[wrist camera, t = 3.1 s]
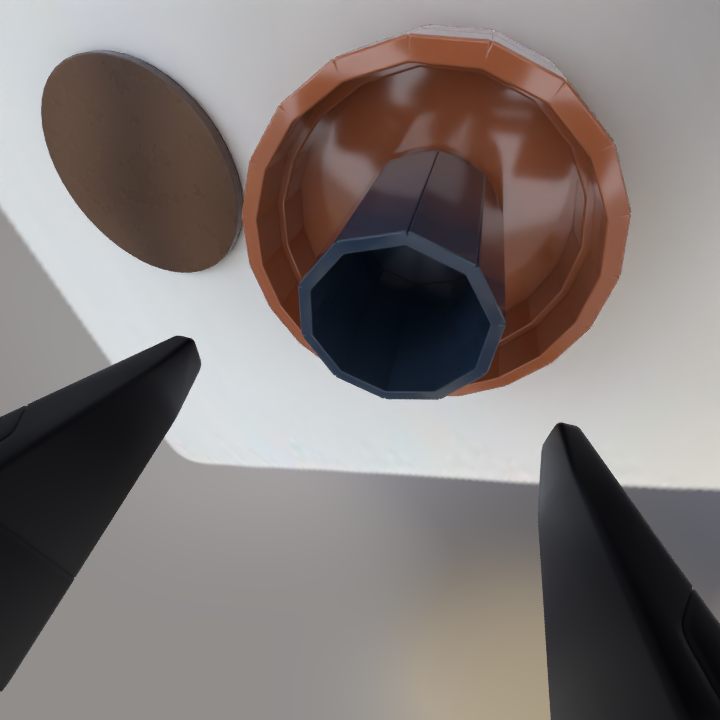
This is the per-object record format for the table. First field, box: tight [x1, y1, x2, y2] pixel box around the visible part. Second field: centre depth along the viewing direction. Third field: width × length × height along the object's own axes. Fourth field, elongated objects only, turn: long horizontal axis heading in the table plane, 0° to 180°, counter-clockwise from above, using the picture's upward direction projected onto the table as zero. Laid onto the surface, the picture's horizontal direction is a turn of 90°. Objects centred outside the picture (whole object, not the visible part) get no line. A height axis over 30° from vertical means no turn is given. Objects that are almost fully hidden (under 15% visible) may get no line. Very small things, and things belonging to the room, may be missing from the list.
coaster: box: [41, 51, 243, 273], centre depth 19 cm, size 10×10×1 cm
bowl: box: [242, 25, 631, 396], centre depth 16 cm, size 13×13×4 cm
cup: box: [298, 150, 506, 400], centre depth 14 cm, size 6×6×8 cm
